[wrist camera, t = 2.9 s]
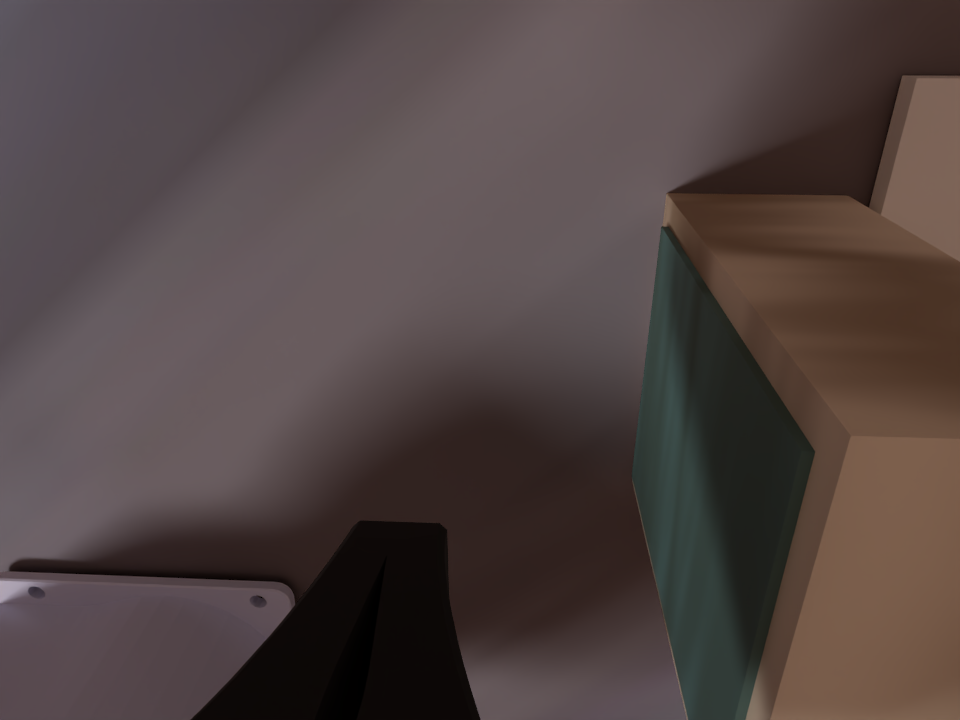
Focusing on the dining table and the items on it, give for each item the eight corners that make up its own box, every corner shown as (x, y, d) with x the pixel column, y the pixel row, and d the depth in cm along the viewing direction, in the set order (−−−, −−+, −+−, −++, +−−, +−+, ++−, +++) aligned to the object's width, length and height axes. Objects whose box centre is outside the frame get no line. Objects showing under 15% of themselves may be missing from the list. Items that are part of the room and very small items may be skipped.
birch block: (626, 480, 20) (714, 881, 11) (660, 193, 16) (835, 435, 7) (778, 485, 19) (997, 897, 10) (847, 195, 16) (1274, 447, 7)
